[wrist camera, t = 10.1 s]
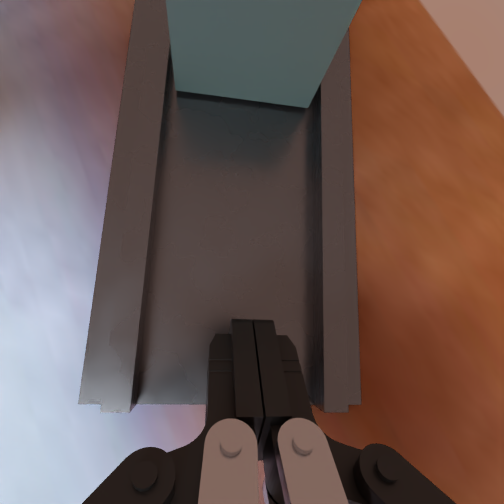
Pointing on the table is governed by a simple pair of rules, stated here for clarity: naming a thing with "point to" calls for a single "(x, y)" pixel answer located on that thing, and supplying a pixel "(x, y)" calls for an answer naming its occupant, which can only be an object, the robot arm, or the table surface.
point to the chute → (222, 233)
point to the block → (256, 46)
